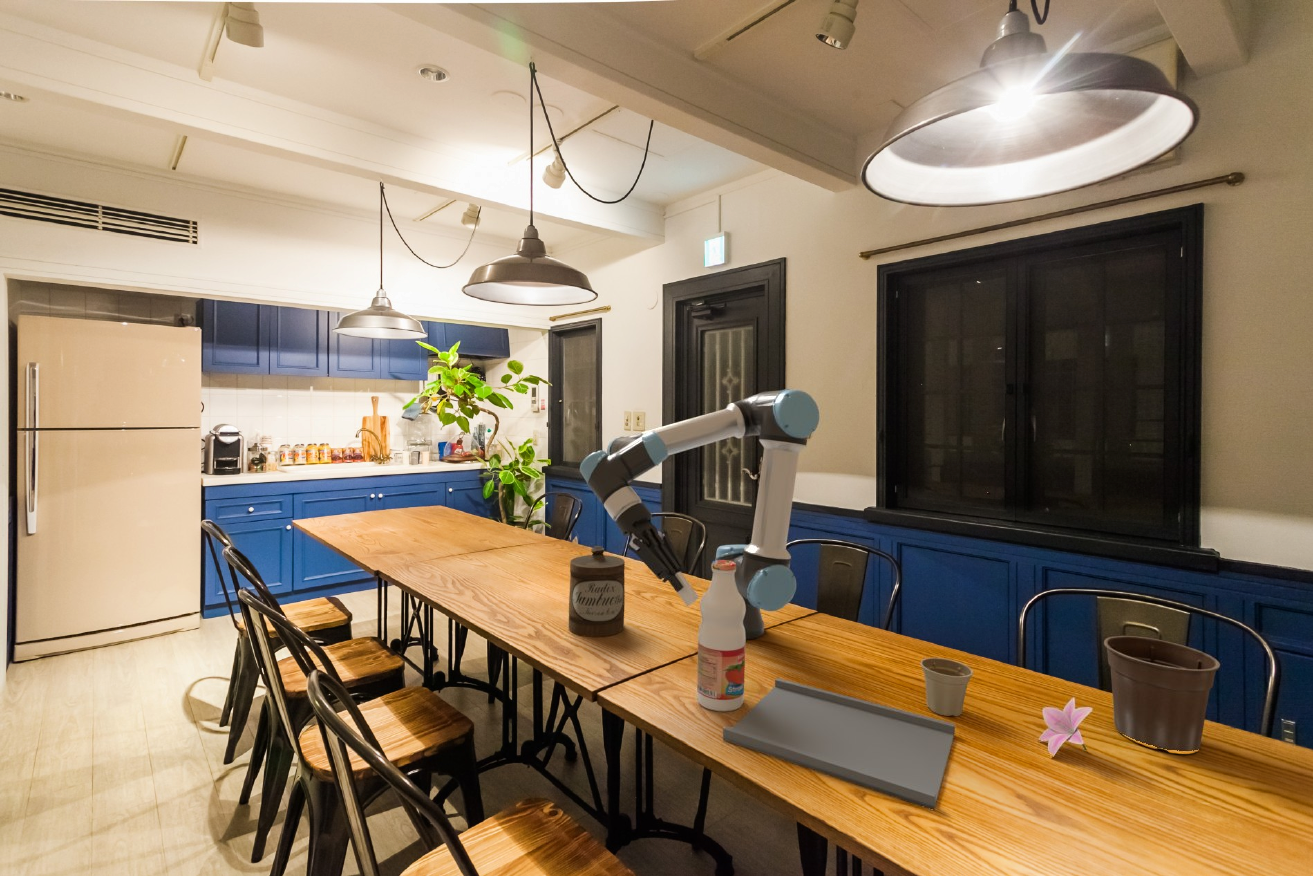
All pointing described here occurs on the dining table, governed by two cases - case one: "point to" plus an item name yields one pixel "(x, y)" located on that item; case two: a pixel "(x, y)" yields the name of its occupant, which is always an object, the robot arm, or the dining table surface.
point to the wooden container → (596, 594)
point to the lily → (1063, 725)
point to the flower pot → (945, 685)
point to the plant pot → (1160, 691)
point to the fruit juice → (721, 642)
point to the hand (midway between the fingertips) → (693, 601)
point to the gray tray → (849, 740)
